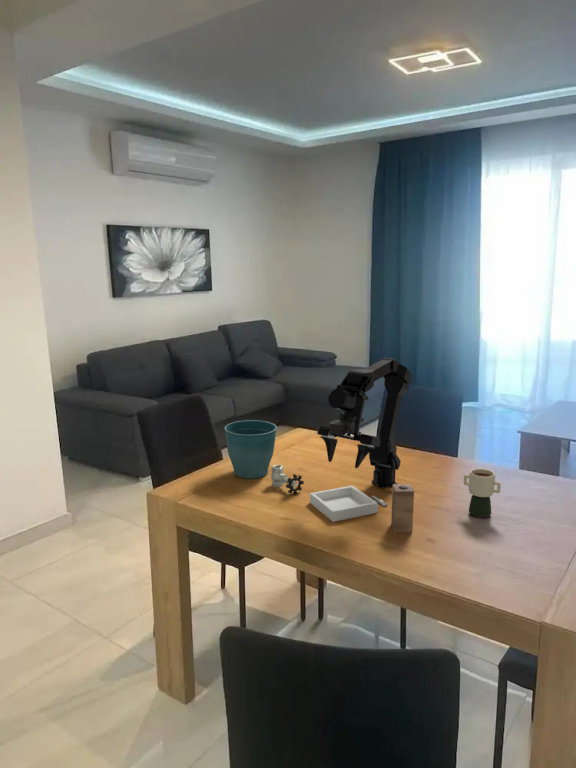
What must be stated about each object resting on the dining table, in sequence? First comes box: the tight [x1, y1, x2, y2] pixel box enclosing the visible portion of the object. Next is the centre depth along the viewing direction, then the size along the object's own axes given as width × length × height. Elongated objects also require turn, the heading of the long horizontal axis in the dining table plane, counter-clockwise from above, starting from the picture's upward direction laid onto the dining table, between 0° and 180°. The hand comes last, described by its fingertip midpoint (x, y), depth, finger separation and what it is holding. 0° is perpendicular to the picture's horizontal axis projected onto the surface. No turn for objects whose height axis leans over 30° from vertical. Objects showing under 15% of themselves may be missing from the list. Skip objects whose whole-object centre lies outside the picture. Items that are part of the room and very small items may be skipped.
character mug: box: [463, 468, 502, 518], centre depth 169 cm, size 11×7×13 cm, turn 50°
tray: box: [309, 485, 379, 523], centre depth 175 cm, size 15×15×3 cm
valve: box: [270, 464, 305, 495], centre depth 190 cm, size 7×7×12 cm
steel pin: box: [371, 494, 388, 507], centre depth 179 cm, size 7×1×1 cm
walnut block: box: [390, 483, 415, 533], centre depth 160 cm, size 5×5×12 cm
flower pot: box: [224, 419, 278, 479], centre depth 203 cm, size 18×18×17 cm
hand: (342, 464), depth 171 cm, fingers open, 9 cm apart
